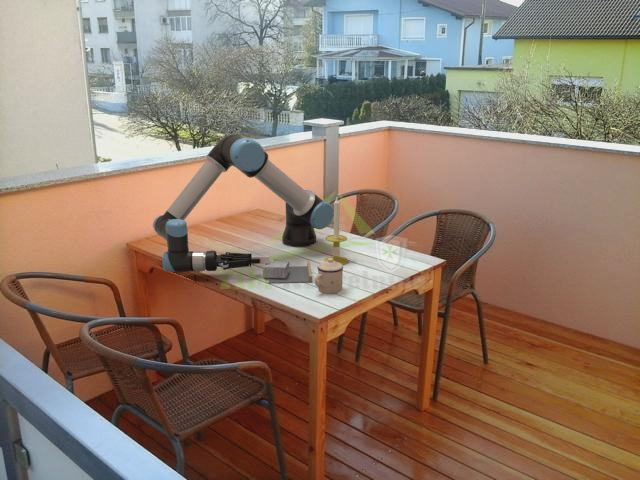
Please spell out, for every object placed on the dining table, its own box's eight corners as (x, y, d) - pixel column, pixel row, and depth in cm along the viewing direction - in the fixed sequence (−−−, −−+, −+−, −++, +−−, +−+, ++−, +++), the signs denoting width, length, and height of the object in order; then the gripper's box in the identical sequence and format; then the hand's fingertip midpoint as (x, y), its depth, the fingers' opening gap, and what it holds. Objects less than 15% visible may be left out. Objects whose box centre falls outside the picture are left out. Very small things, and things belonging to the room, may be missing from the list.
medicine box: (262, 277, 220) (286, 279, 219) (262, 266, 218) (285, 267, 217) (267, 271, 227) (289, 272, 226) (267, 260, 226) (289, 261, 225)
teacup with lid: (329, 282, 217) (330, 252, 214) (348, 289, 211) (348, 258, 207) (306, 291, 209) (306, 260, 205) (324, 299, 203) (324, 267, 199)
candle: (344, 266, 233) (345, 200, 224) (320, 263, 236) (320, 198, 228) (351, 258, 242) (352, 194, 233) (328, 255, 245) (329, 192, 237)
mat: (309, 267, 232) (309, 261, 232) (312, 282, 217) (312, 276, 217) (269, 268, 231) (268, 262, 231) (268, 283, 216) (268, 277, 216)
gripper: (208, 264, 228) (269, 262, 229) (204, 276, 215) (269, 275, 217) (207, 245, 225) (269, 244, 227) (202, 257, 213) (268, 256, 214)
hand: (269, 259), depth 222 cm, fingers closed
